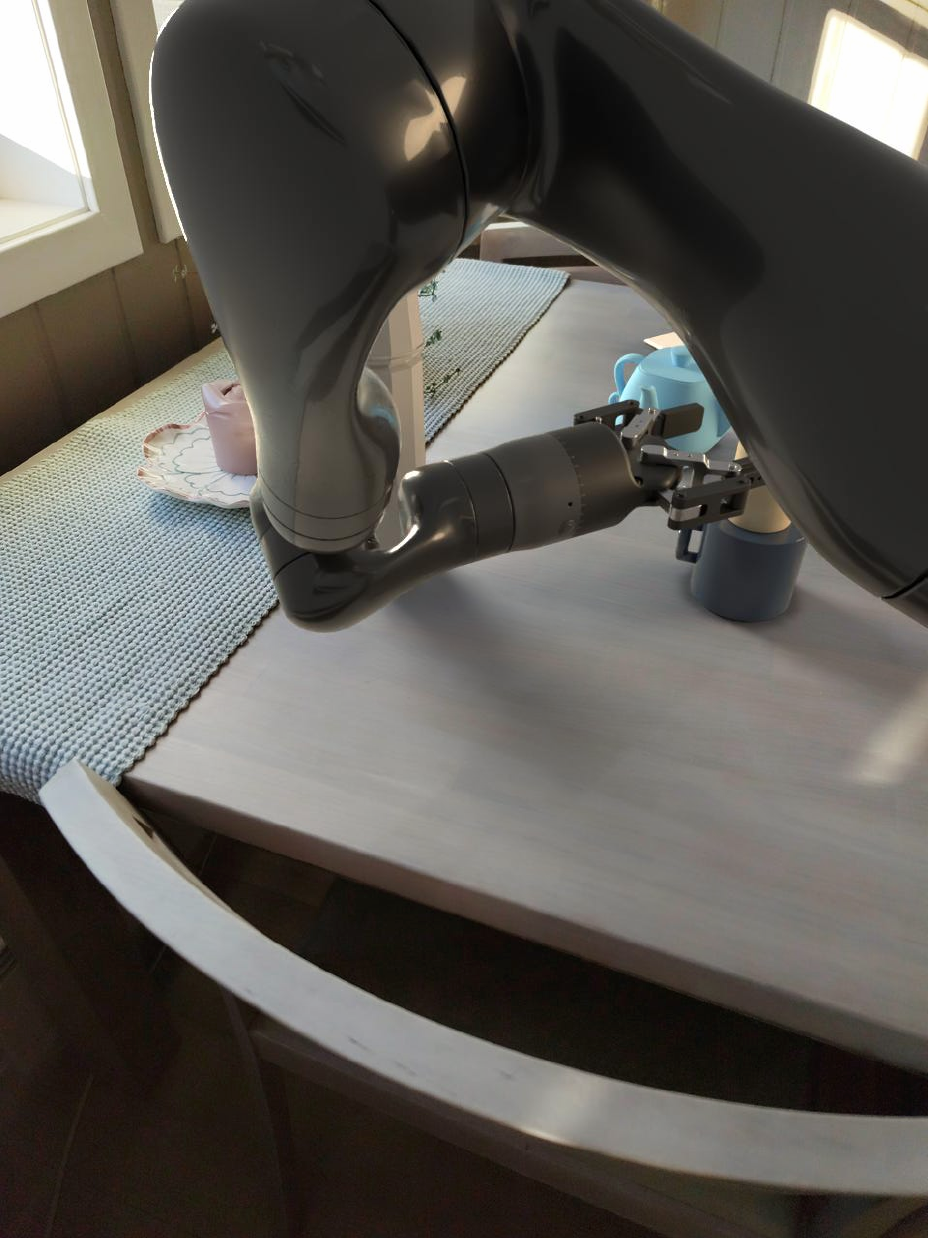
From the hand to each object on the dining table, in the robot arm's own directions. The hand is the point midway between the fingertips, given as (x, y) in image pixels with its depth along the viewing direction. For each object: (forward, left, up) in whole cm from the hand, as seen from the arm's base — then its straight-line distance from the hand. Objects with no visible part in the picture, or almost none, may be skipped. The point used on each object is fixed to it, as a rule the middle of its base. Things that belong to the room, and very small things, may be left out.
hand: (735, 439), depth 65 cm
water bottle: (+26, +12, -16) cm, 33 cm away
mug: (-2, -4, -16) cm, 17 cm away
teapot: (+16, -23, -16) cm, 33 cm away
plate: (+21, -49, -16) cm, 56 cm away
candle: (-2, -4, -8) cm, 9 cm away
